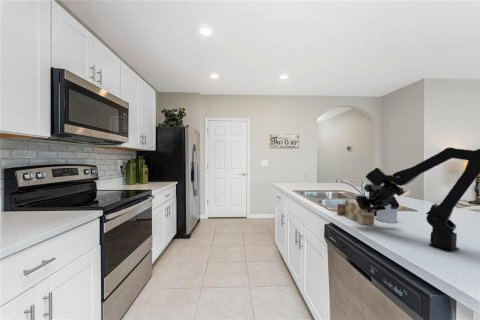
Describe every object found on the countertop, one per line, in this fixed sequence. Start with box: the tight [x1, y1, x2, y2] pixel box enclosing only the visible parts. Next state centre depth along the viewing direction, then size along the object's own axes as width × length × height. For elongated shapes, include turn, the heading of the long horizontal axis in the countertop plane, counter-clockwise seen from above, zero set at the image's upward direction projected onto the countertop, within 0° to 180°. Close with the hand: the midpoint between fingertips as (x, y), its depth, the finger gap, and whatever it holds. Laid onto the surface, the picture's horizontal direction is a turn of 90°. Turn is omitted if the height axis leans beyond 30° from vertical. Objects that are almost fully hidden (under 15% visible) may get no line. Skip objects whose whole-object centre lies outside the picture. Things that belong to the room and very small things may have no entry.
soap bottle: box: [375, 182, 398, 224], centre depth 122 cm, size 9×9×25 cm
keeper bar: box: [344, 199, 375, 226], centre depth 121 cm, size 16×6×9 cm, turn 5°
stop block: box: [336, 203, 346, 217], centre depth 132 cm, size 3×10×6 cm, turn 96°
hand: (368, 211), depth 113 cm, fingers closed, pressing on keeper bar
